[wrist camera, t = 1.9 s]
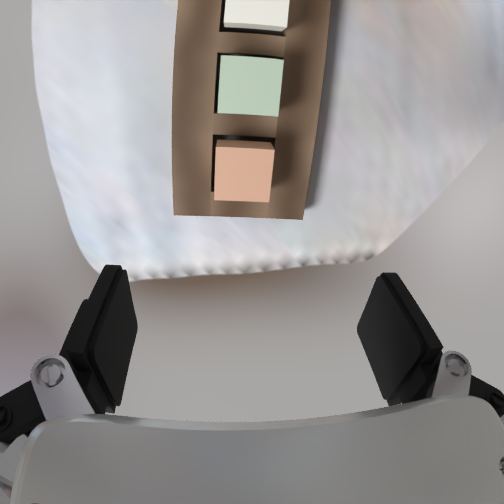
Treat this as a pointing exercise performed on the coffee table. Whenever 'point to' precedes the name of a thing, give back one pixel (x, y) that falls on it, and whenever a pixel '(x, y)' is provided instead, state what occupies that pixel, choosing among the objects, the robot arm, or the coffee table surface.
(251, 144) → the tile terracotta
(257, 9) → the tile cream
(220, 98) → the tile sage
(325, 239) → the coffee table surface
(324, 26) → the brown tile tray
